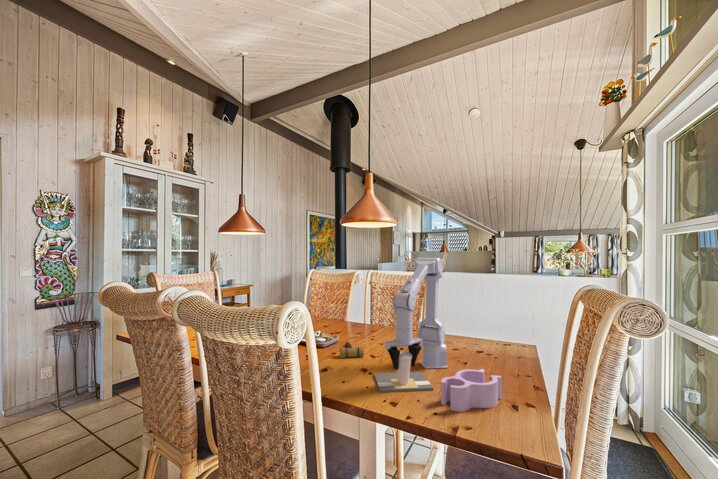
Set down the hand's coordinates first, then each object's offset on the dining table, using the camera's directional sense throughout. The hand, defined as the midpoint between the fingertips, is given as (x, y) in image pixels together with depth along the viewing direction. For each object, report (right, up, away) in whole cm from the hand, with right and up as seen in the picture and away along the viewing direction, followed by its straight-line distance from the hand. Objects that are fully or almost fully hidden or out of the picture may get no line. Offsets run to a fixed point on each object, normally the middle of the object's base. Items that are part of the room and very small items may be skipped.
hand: (404, 367), depth 109 cm
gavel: (-20, -9, +38) cm, 44 cm away
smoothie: (0, -6, 0) cm, 6 cm away
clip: (+19, -6, -10) cm, 23 cm away
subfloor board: (0, -7, +3) cm, 7 cm away
